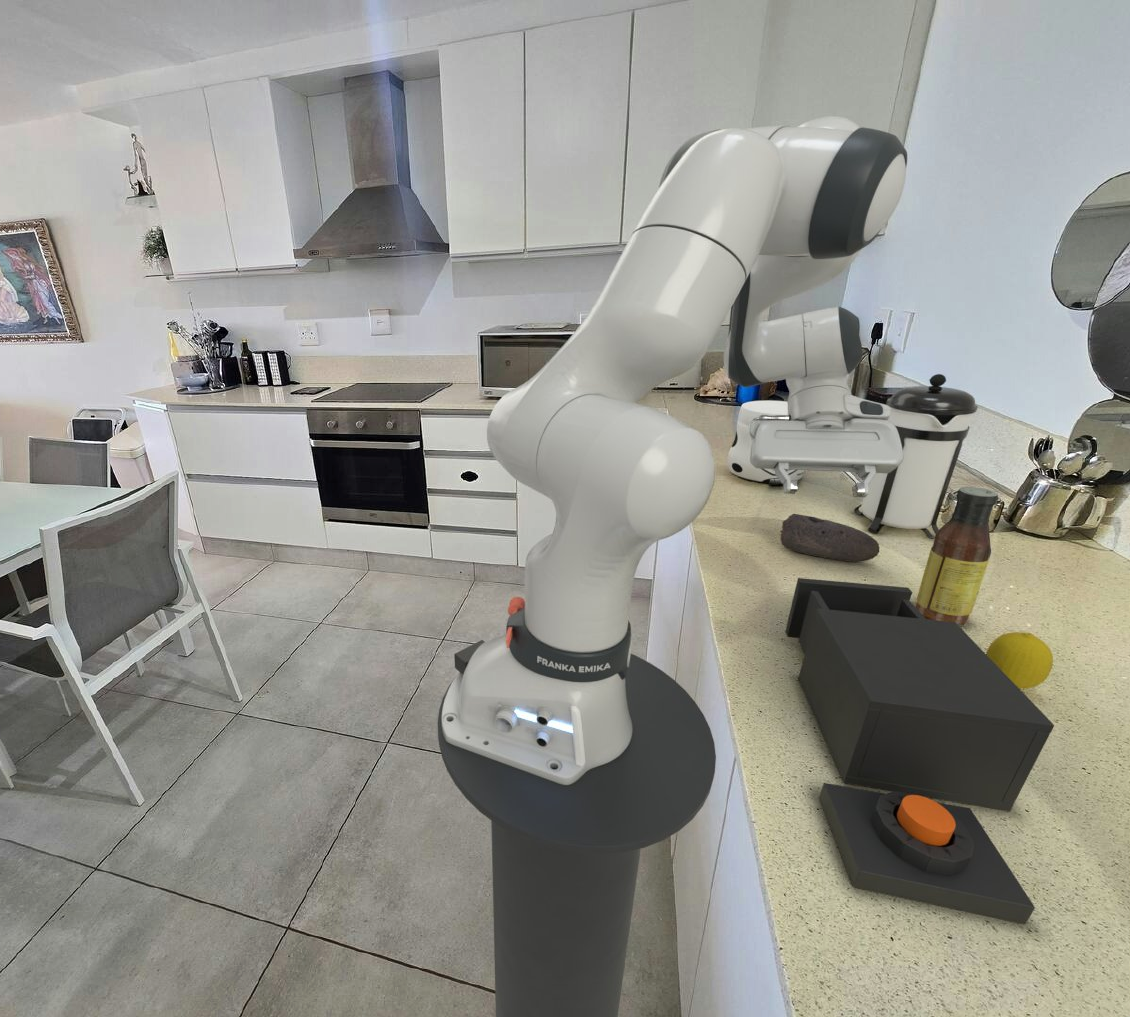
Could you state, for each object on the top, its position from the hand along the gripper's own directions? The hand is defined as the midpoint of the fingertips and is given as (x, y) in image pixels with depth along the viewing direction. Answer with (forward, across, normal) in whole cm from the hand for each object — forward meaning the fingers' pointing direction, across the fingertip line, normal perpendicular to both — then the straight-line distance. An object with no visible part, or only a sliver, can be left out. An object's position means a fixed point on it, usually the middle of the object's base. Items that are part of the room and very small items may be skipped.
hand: (825, 494), depth 84 cm
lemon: (+26, +17, -3) cm, 32 cm away
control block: (+45, -4, -23) cm, 51 cm away
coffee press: (-9, +23, +34) cm, 42 cm away
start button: (+43, -3, -26) cm, 50 cm away
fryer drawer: (+26, 0, -4) cm, 26 cm away
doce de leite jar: (-26, +4, +50) cm, 57 cm away
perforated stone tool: (+4, +6, +20) cm, 22 cm away
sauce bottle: (+15, +17, +8) cm, 24 cm away
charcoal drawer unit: (+35, 0, -12) cm, 37 cm away
